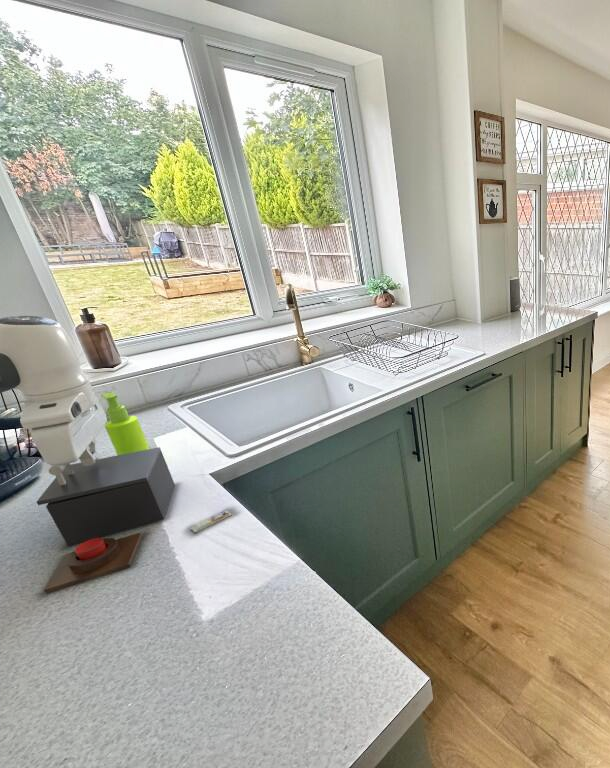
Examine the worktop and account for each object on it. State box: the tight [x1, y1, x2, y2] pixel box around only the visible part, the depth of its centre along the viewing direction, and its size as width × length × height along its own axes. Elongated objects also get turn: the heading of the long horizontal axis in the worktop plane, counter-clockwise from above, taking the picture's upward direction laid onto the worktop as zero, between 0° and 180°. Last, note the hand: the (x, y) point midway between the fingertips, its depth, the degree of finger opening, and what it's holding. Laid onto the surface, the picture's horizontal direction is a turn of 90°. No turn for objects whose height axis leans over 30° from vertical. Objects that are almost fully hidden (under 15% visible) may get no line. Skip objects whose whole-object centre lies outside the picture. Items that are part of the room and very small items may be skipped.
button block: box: [43, 532, 143, 595], centre depth 74 cm, size 11×9×3 cm
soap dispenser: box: [100, 391, 151, 456], centre depth 100 cm, size 6×7×20 cm
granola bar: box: [189, 510, 232, 533], centre depth 84 cm, size 7×2×1 cm, turn 142°
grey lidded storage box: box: [45, 450, 176, 548], centre depth 85 cm, size 15×14×10 cm
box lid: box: [36, 446, 162, 506], centre depth 82 cm, size 15×14×5 cm
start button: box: [74, 537, 106, 560], centre depth 73 cm, size 4×4×2 cm
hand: (91, 462), depth 84 cm, fingers closed
